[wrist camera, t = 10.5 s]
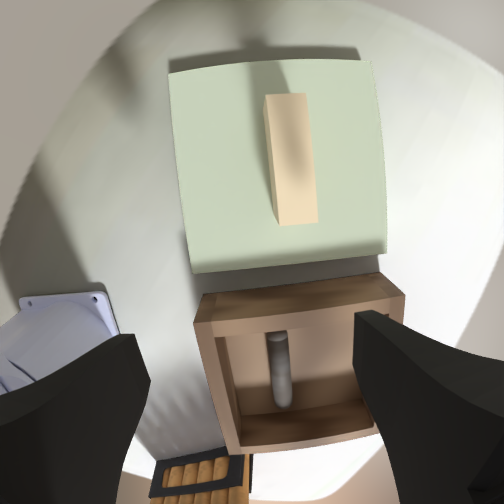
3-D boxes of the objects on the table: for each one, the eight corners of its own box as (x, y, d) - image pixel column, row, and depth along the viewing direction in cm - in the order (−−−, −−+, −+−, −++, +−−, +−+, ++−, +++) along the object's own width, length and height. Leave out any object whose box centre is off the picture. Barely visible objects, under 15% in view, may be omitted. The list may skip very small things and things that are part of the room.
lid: (197, 264, 20) (180, 297, 15) (175, 81, 17) (150, 54, 12) (376, 246, 20) (412, 271, 14) (361, 69, 16) (394, 42, 11)
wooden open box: (231, 419, 23) (229, 454, 19) (203, 294, 20) (192, 323, 16) (369, 400, 23) (383, 431, 19) (380, 271, 20) (405, 294, 16)
